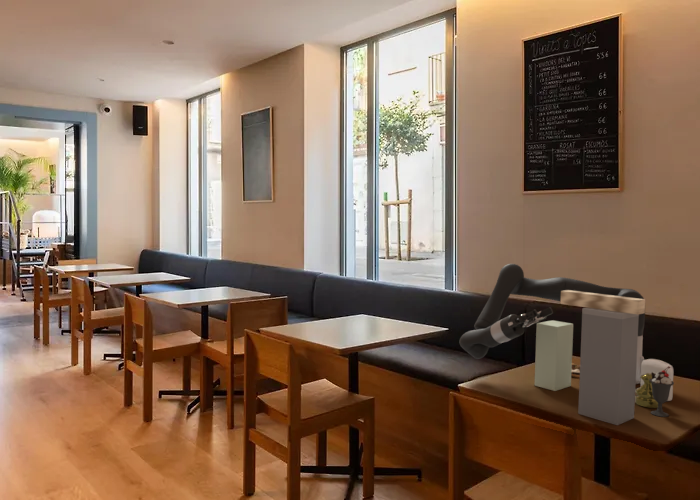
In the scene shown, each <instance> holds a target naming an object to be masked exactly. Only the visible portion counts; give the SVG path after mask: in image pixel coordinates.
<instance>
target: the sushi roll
mask: <svg viewBox="0 0 700 500" xmlns="http://www.w3.org/2000/svg"><path fill="white" fill-rule="evenodd" d="M571 378H577V379H580V364H579V365H578V364H576V363H573V362H572V370H571Z"/></svg>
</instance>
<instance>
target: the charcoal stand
mask: <svg viewBox="0 0 700 500" xmlns="http://www.w3.org/2000/svg"><path fill="white" fill-rule="evenodd" d="M581 309H582V311H581V312H582V313H581V335H580V336H581V337H580V339H581V340H580V357H579V359H580V360H579V365H580V378H579V383H578V386H579V388H578V391H579V392H578V406H577V407H578V411H577V414H579V415H580V416H584V417H588V418H592V419H595V420H597V421H598V420H599V421H601V422H605V423H608V424H612V425H615V426H619V425H621V424H623V423H626V422H629V421H631V420H633V419H635V404H636V403H635V396H636V392H635V390H636V385H637V384H636V363H637V341H638V319H639V315H638V314H630V313H623V312H616V311H609V310H602V309H595V308H588V307H583V308H581Z"/></svg>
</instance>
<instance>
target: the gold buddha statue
mask: <svg viewBox="0 0 700 500" xmlns="http://www.w3.org/2000/svg"><path fill="white" fill-rule="evenodd" d="M640 378H641V379H642V380H643V381H644V384H643V385H642V386H641V385H640V387H639V386H638V387H636V388H635V404H636V405H637V406H640V407H644V408H649V409H657V408H658V402H657V401H655V399H654V398H653V394H652V384H651V381H649V380H650V379H652V375H651V373H646V374H643V375H641V376H640Z"/></svg>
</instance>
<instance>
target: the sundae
mask: <svg viewBox="0 0 700 500" xmlns="http://www.w3.org/2000/svg"><path fill="white" fill-rule="evenodd" d="M669 368H670V367H669V366H668V369H669ZM666 369H667V368H666ZM666 369H665V370H666ZM668 369H667V370H668ZM665 370H662V372H658V373H656V374H654V373H651V375H652V379H650V380H649V381H651V384H652V394H653V398H654V399H655V401H657V402H658V408H656V410H651V411H650V414H651V415H652V416H656V417H661V418H667V417H669V416H670V415H669V413H667V412H664V410H663V404H665V403H666V402H668V401H667V400H668V397H669V393H670V388H671V386H672V385H673V386H674V383H675V382H674V380H673V381H671V379H670V378H669V377H668V376H669V374H667V370H666V371H665Z"/></svg>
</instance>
